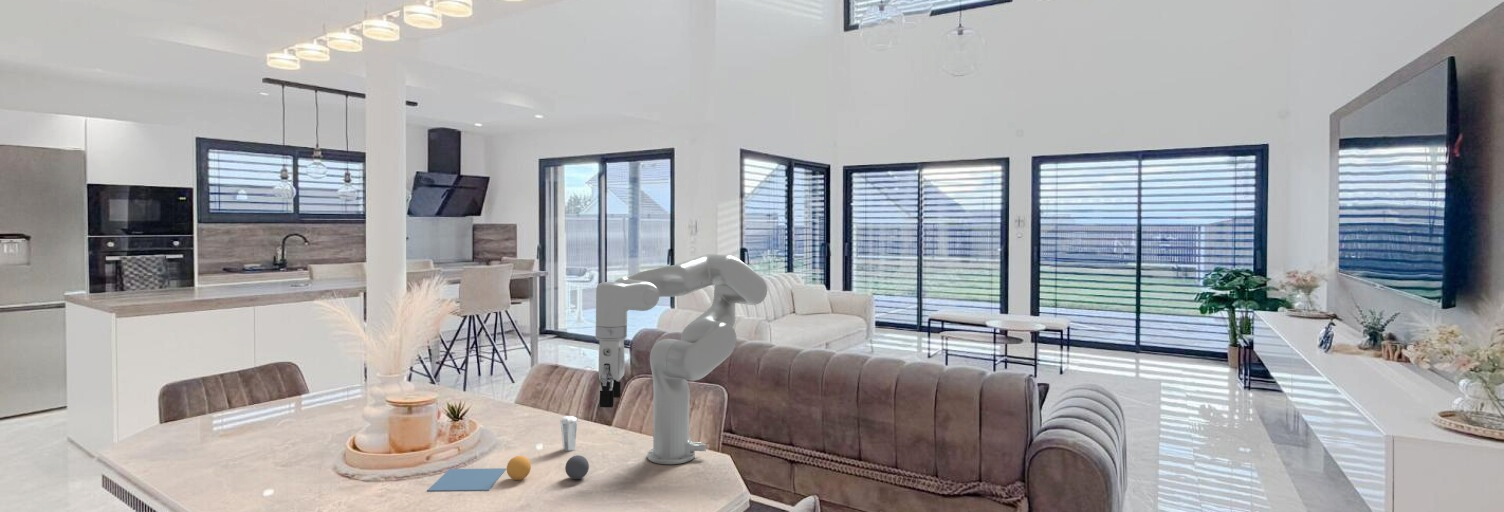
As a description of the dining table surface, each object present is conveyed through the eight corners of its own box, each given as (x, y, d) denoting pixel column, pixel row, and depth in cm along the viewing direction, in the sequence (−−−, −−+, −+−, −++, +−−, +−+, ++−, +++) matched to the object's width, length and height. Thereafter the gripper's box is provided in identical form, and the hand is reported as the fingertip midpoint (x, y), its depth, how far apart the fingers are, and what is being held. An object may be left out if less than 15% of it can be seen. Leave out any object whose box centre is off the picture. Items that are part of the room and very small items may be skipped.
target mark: (506, 469, 177) (506, 468, 177) (488, 490, 163) (488, 489, 163) (449, 469, 176) (449, 468, 176) (427, 491, 162) (427, 490, 162)
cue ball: (590, 474, 174) (590, 452, 174) (586, 482, 169) (586, 459, 168) (567, 474, 174) (567, 452, 174) (563, 482, 168) (563, 460, 168)
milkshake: (575, 452, 190) (575, 416, 190) (557, 451, 191) (557, 415, 191) (583, 447, 195) (583, 411, 194) (565, 446, 196) (565, 410, 195)
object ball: (533, 474, 173) (533, 452, 173) (527, 483, 168) (527, 460, 168) (510, 475, 173) (510, 452, 173) (503, 483, 168) (503, 460, 167)
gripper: (620, 338, 163) (619, 411, 164) (632, 327, 180) (631, 394, 181) (588, 337, 163) (587, 410, 163) (602, 327, 180) (602, 393, 181)
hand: (610, 402), depth 172 cm, fingers open, 9 cm apart
